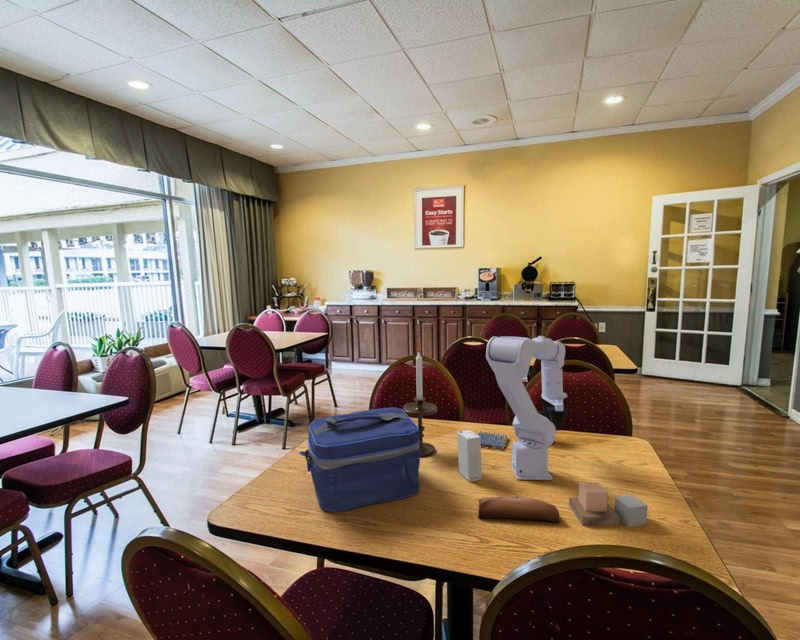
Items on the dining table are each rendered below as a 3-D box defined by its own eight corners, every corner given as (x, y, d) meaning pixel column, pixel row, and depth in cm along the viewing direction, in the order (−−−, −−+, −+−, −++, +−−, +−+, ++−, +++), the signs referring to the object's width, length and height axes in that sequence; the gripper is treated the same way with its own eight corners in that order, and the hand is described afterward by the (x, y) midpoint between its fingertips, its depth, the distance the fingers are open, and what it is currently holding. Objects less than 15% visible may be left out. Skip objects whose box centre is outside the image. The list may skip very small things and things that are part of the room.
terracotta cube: (585, 511, 92) (586, 492, 91) (578, 500, 96) (578, 482, 96) (606, 511, 91) (607, 492, 91) (598, 500, 96) (598, 482, 95)
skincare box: (482, 479, 111) (482, 436, 109) (468, 482, 109) (467, 439, 108) (471, 469, 117) (471, 428, 115) (457, 472, 115) (456, 431, 114)
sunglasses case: (551, 502, 99) (555, 487, 95) (557, 532, 93) (561, 517, 89) (476, 499, 101) (476, 484, 97) (477, 527, 96) (478, 513, 92)
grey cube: (628, 527, 89) (629, 508, 88) (614, 515, 93) (614, 497, 93) (646, 524, 90) (647, 505, 89) (631, 513, 94) (632, 494, 94)
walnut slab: (582, 527, 90) (582, 516, 89) (568, 507, 98) (569, 497, 97) (619, 527, 89) (619, 517, 89) (602, 507, 97) (603, 497, 97)
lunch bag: (307, 521, 94) (302, 435, 91) (297, 479, 113) (293, 408, 111) (429, 494, 104) (428, 416, 102) (401, 460, 124) (399, 394, 122)
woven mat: (471, 448, 132) (471, 442, 132) (478, 436, 142) (478, 430, 142) (503, 453, 128) (503, 446, 128) (508, 440, 138) (509, 434, 138)
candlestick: (442, 447, 132) (441, 340, 128) (429, 461, 123) (427, 346, 119) (412, 441, 137) (410, 339, 133) (397, 454, 128) (395, 344, 124)
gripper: (574, 388, 112) (575, 434, 114) (559, 371, 126) (560, 412, 128) (547, 390, 112) (549, 435, 115) (535, 373, 126) (537, 414, 129)
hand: (553, 423), depth 122 cm, fingers open, 7 cm apart
